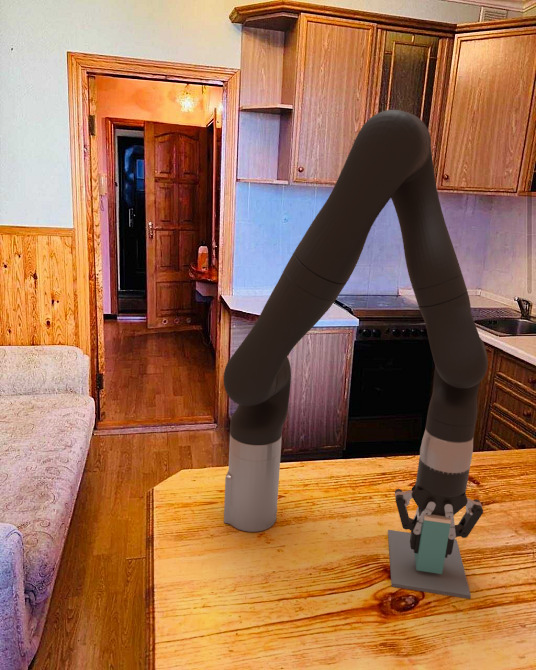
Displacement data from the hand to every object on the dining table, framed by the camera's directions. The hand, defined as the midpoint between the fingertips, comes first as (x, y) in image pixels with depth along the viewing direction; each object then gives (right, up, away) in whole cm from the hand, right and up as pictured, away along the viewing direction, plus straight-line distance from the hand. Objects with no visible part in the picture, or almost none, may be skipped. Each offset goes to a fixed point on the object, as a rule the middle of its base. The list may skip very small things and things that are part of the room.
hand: (429, 551), depth 92 cm
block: (0, -2, +1) cm, 2 cm away
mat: (0, -3, +3) cm, 4 cm away
